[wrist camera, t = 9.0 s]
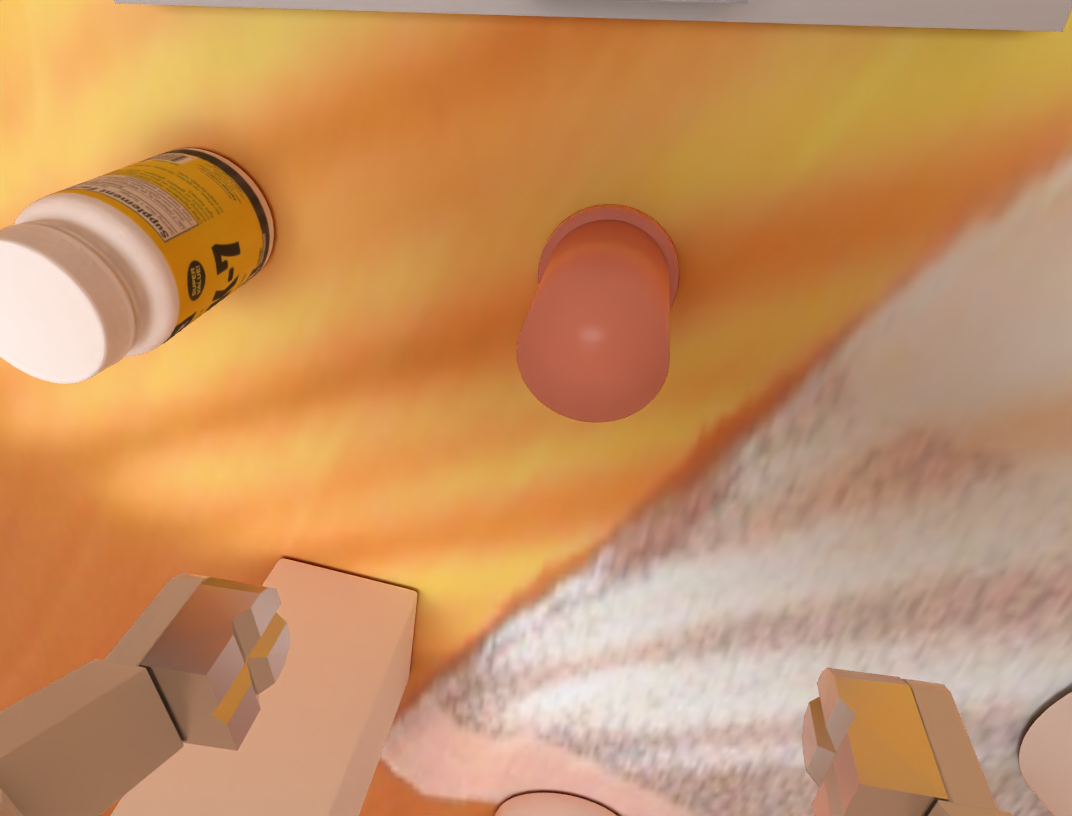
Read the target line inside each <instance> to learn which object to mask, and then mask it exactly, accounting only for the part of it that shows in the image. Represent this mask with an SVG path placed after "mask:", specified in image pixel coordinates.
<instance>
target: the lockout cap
mask: <svg viewBox="0 0 1072 816" xmlns="http://www.w3.org/2000/svg"><path fill="white" fill-rule="evenodd" d="M678 282H679V268H678V259H677V254H676V251H675V248H674V245H673V243H672V241H671V239H670V237H669V236H668V234H667V233H666V232H665V230H664V229H663V228H662V227H661V226H660V225H659V224H658V223H657V222H656V221H655V220H654V219H652V218H651V217H650V216H648V215H646V214H645V213H643V212H641V211H639V210H636V209H634V208H631V207H627V206H623V205H615V204H604V205H596V206H592V207H588V208H585V209H583V210H580V211H578V212H576V213H574V214H573V215H571V216H569V217H568V218H567V219H565V220H564V221H563V222H562V223H561V224H560V225H559V226H558V227H557V228H556V229H555V231H554V232H553V233H552V235H551V236H550V238H549V240H548V242H547V243H546V246H545V248H544V250H543V253H542V256H541V259H540V263H539V270H538V283H539V287H538V289H537V292H536V294H535V297H534V299H533V302H532V304H531V306H530V309H529V311H528V314H527V316H526V319H525V321H524V324H523V326H522V329H521V331H520V334H519V337H518V342H517V362H518V366H519V370H520V373H521V376H522V378H523V380H524V382H525V384H526V385H527V387H528V388H529V390H530V391H531V392H532V394H533V395H534V396H535V397H536V398H537V399H538V400H539V401H540V402H542V403H543V404H544V405H545V406H547V407H548V408H550V409H551V410H553V411H555V412H556V413H558V414H560V415H563V416H565V417H568V418H571V419H575V420H579V421H585V422H608V421H614V420H618V419H621V418H625V417H627V416H629V415H632V414H634V413H635V412H637V411H639V410H641V409H642V408H643V407H645V406H646V405H647V404H648V403H649V402H650V401H651V400H652V399H653V398H654V397H655V396H656V395H657V393H658V392H659V391H660V389H661V387H662V386H663V384H664V382H665V379H666V376H667V373H668V369H669V360H670V317H669V310H670V308H671V306H672V304H673V302H674V299H675V297H676V294H677V289H678Z"/></svg>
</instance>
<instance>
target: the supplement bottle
mask: <svg viewBox="0 0 1072 816" xmlns="http://www.w3.org/2000/svg"><path fill="white" fill-rule="evenodd" d="M273 241H274V226H273V220H272V216H271V212H270V209H269V207H268V205H267V202H266V200H265V198H264V196H263V195H262V193H261V192H260V190H259V189H258V187H257V186H256V184H255V183H254V182H253V181H252V180H251V178H250V177H249V176H248V175H247V174H246V173H245V172H243V171H242V170H241V169H240V168H239V167H238V166H236V165H235V164H233V163H232V162H230V161H229V160H227V159H225V158H223V157H221V156H219V155H217V154H215V153H212V152H209V151H206V150H202V149H196V148H183V149H176V150H173V151H169V152H166V153H163V154H160V155H157V156H155V157H152V158H149V159H146V160H143V161H141V162H138V163H135V164H133V165H130V166H127V167H124V168H122V169H119V170H116V171H113V172H110V173H108V174H105V175H102V176H100V177H97V178H94V179H92V180H89V181H86V182H83V183H81V184H78V185H75V186H72V187H69V188H67V189H64V190H61V191H58V192H56V193H53V194H50V195H47V196H45V197H43V198H41V199H39V200H37V201H35V202H33V203H32V204H30V205H29V206H28V207H26V208H25V209H24V210H23V211H22V212H21V214H20V215H19V216H18V218H17V219H16V221H15V223H14V225H12V226H8V227H6V228H4V229H2V230H0V357H1V358H3V359H4V360H5V361H7V362H8V363H10V364H11V365H13V366H14V367H16V368H18V369H19V370H21V371H23V372H25V373H27V374H29V375H31V376H33V377H36V378H39V379H42V380H45V381H48V382H54V383H77V382H81V381H84V380H87V379H89V378H91V377H93V376H94V375H96V374H98V373H99V372H101V371H103V370H104V369H106V368H107V367H109V366H111V365H113V364H115V363H117V362H119V361H120V360H121V359H122V358H124V357H126V356H136V355H140V354H144V353H146V352H149V351H151V350H153V349H155V348H157V347H158V346H160V345H161V344H163V343H165V342H166V341H168V340H169V339H170V338H171V337H173V336H174V335H175V334H177V333H178V332H180V331H181V330H182V329H183V328H185V327H186V326H187V325H189V324H190V323H191V322H193V321H194V320H195V319H197V318H198V317H200V316H201V315H202V314H203V313H205V312H206V311H208V310H209V309H211V308H212V307H213V306H214V305H216V304H217V303H218V302H220V301H221V300H222V299H224V298H225V297H226V296H228V295H229V294H230V293H232V292H233V291H235V290H236V289H237V288H239V287H240V286H242V285H243V284H244V283H246V282H247V281H248V280H250V279H251V278H252V277H254V276H255V275H256V274H257V273H258V272H259V271H260V270H261V269H262V268H263V267H264V266H265V264H266V263H267V261H268V259H269V257H270V254H271V251H272V247H273Z"/></svg>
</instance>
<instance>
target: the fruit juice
mask: <svg viewBox="0 0 1072 816" xmlns="http://www.w3.org/2000/svg"><path fill="white" fill-rule="evenodd" d="M494 816H617V815H615V814H614V813H613V812H611V811H610V810H608V809H606V808H604V807H603V806H600V805H598V804H596V803H594V802H591V801H588V800H586V799H582V798H579V797H575V796H571V795H566V794H559V793H529V794H523V795H519V796H516V797H514V798H511V799H509V800H507V801H506V802H504V803H503V804H502V805H501V806H500V807H499V808H498V810H497V811H496V813H495V815H494Z"/></svg>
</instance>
